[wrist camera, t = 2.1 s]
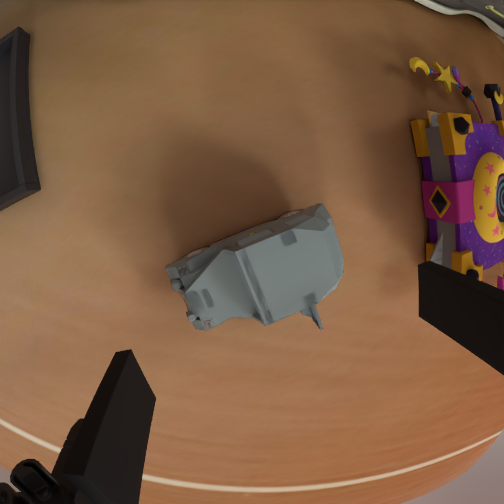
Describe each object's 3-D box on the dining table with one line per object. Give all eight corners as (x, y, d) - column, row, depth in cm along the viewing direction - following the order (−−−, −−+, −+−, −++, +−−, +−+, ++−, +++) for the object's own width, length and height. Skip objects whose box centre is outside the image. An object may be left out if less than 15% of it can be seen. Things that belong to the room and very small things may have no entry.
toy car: (169, 259, 18) (156, 283, 14) (311, 202, 19) (343, 208, 14) (209, 340, 20) (210, 381, 15) (337, 286, 21) (370, 313, 16)
